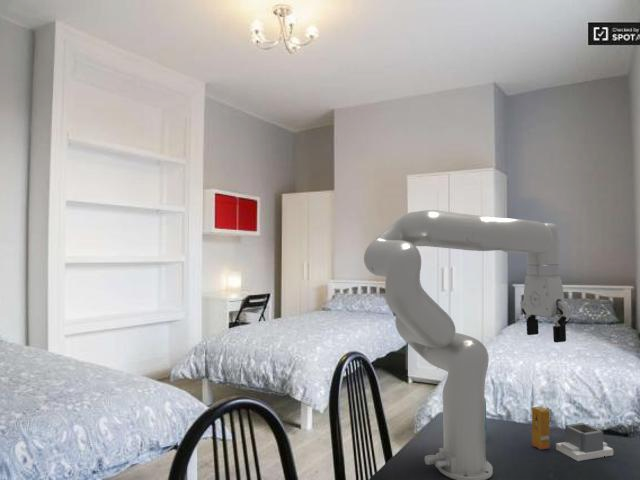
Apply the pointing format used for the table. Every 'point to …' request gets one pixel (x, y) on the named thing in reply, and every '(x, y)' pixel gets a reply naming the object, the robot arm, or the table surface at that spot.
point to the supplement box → (540, 427)
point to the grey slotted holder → (584, 443)
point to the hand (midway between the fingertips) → (545, 338)
